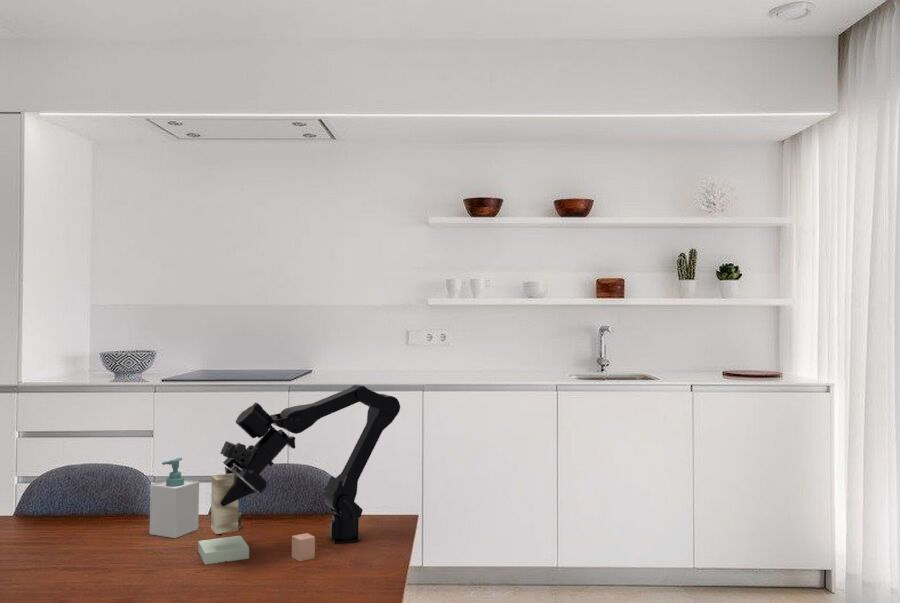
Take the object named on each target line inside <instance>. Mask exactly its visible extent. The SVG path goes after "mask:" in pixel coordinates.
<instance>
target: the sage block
mask: <svg viewBox="0 0 900 603" xmlns="http://www.w3.org/2000/svg"><path fill="white" fill-rule="evenodd" d="M197 545H198V546H197V547H198V548H197V549H198V550H197V552H198V554H199V556H200V558H201V560H202V562H203V564H204V565H211V564H217V563H219V562H220V563H226V562H225V561H227V562H232V561H233V562H234V561H241V560H247V559H250V547H249V545H248V544H247V542H246V541H245V540H244V538H243V537H242V536H241V535H236V536H227V537H220V538H219V537H218V538H212V539H205V540H203V539H202V540H198V543H197Z"/></svg>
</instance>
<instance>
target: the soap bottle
mask: <svg viewBox="0 0 900 603" xmlns="http://www.w3.org/2000/svg"><path fill="white" fill-rule="evenodd" d="M182 460H183V457H176V458H175V459H171V460H167V461H162V463H161V464H162V466H164V465H170V466H171V468H172V471H171V472H169V474H168V475H169V477H167V478H166V480H163V481H160V482H156V483H151V484H150V497H149V499H150V500H149V502H150V503H149V535H152V536H153V535H154V536H159V537H165V538H171V539H177V538H179V537H182V536H185V535H187V534H191V533H193V532H195V531H198V530H199V513H200V512H199V511H200V507H199V504H200V481H199V480H193V479H192V480H191V479H185V477H184V476H182V472H181V471H178V470H179V468H180V461H182Z"/></svg>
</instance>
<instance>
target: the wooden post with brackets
mask: <svg viewBox="0 0 900 603" xmlns="http://www.w3.org/2000/svg"><path fill="white" fill-rule="evenodd" d="M241 517H242V512H240V511H239V512H238V528H244V526H245V525H244V523H243V521H242V519H241ZM222 535H223V533H221V535H220V536H222Z"/></svg>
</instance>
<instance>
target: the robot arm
mask: <svg viewBox="0 0 900 603" xmlns="http://www.w3.org/2000/svg"><path fill="white" fill-rule="evenodd" d="M357 403H361V404H363V405H366V407H368V410H367V414H366V415H367V418H366V424H365V426H364V428H363V430H362V432H361V434H360V436H359V438H358V439H357V442H356V443H355V446H354V448H353V450H352V452H351V453H350V455H349V457H348V460H347V462H346V463H345V465H344V467H343V469H342V471H341V472H340V473H339V475H337V476H336V477H335V476H333V475H331V476H330V478H329V479H328V482H327V485H326V486H325V487H324V488H323V491H324V493H323V500H324V503H325V504H326V505H327V507H329V509H330V512H331V513H332V520H330V521H329V523H330V525H329V536H330V538H331V539H332V541H333V543H334V544H341V543H342V544H343V543H356V542H360V541H361V538H360V537H359V525H360V524H359V523H360V521H359V520H360V518H361V516H362V514H363V510H364V509H362V507H360V505H359V504H358V503H357V502H355V500H356V497H357V494H358V484H359V483H358V482H359V480H360V477H361V475H362V473H363V472H364V469H365V467H366V465H367V463H368V461H369V459H370V457H371V455H372V453H373V452H374V450H375V447H376V446H377V443H378V442H379V439H380V437H381V436H382V433H383V432H384V430H385V429H386V428H387V427H389V425H391V424H392V423H393V422H394V420H395V419H396V418H397V416H398V415H399V413H400V411H401V403H400V401H399V399H398V398H397V397H396V396H393V395H388V394H385V393H378V392H376V391H374V390H371V389H369V388H367V387H366V386H365V385H361V384H354V385H352V386H350V387H349V388H346V389H344V390H341V391H339V392H337V393H333V394H332V395H329V396H327V397H325V398H324V397H323V398H322V399H320V400H318V401H315V402H313V403H306V404H298V405H294V406H290V407H289V406H288V407H286V408H284V409H283V410H281V412H280V413H274V414H269V413H268V412H267V411H266V410H265V409H264V408H263V406H262V405H261V404H260V403H258V402H254V403H253V404H252V405H251V406H249V407H247V408H246V409H245V410H243V411H241V412H240V413H239V415H238V417H237V418H236V420H235V424H236V425H237V426H238V427H239V428H241V430H243V431H244V432H245V433H246V434H247V435H248V436H249V437H250V438H251V439H256V438H257V439H259V440H258V441H257V442H256V443H255V444H254V445H253V444H251V445H248V447H247V445H246V444H244V443H243V444H242V443H240V442H237V443H236V444H235V443H233V442H230V441H227V440H225V442H224V444H223V446H222V447H221V451H220V453H219V454H221V455H222V456H223V457H225V458H226V459H225V460H224V461H223V462H222V463H223V465H225V466H224V470H225V471H224V472H225V474H231V473H233V474H234V484H233V485H232V487H231V488H230V489H229V491H228V492H227V494H226V495H225V497H224V498H223V500H222V501H221V503H220V504H221V505H222V506H226V505H228V504H230V503H232V502H234V501H236V500H238V501H239V500H240V499H242V498H244V497H247V496H249V495H251V494H255V493H256V491H257V492H258V493H260V494H262V493H263V492H264V491H265V490H266V489H267V486H268V485H267V483H268V482H267V481H266V479H264V477H263V476H262V475H261V474H262V473H263V472H264V471H265V469H266V468H267V467H268V466H270V467H272V466H273V465H274V464H275V463H274V462H273V461H274V460H275V459H276V457H277V456H278V455H279V454H280V453H281V452H282V450H284V449H285V447H286V446H288V447H289V448H291V449H294V450H295V449H296V437H294V436H293V435H291V436H289V435H288V434H287V433H286V432H285V431H288V432H289V433H292V434H302V433H303V432H304V431H306V430H308V429H309V428H311V427H312V426H313V425H315V423H316V422H317V421H319V420H320V419H322V418H325V417H327V416H329V415H332V414H334V413H336V412H339V411H341V410H343V409H345V408H348V407H350V406H353V405H355V404H357ZM274 426H276V427H278V428H279V429H276V428H275V427H274ZM280 428H281V429H280ZM284 430H285V431H284Z"/></svg>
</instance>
